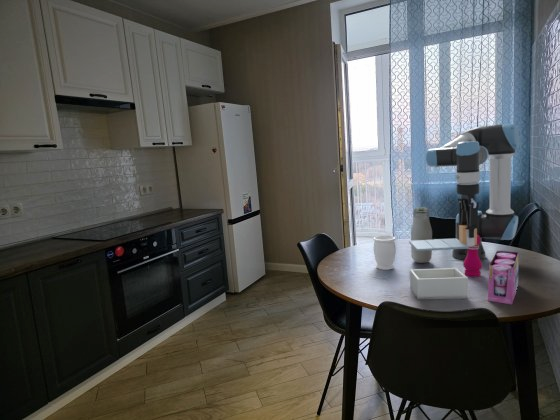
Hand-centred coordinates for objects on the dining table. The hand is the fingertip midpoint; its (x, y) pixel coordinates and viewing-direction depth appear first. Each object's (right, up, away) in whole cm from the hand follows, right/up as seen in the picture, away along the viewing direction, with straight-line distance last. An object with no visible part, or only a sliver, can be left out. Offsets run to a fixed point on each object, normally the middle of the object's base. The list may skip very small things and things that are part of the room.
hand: (467, 244), depth 142 cm
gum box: (+14, -19, 0) cm, 23 cm away
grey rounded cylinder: (-1, -13, +44) cm, 46 cm away
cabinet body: (-10, -20, +4) cm, 22 cm away
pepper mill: (+13, -16, +21) cm, 29 cm away
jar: (-20, -15, +40) cm, 47 cm away
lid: (-9, -1, +1) cm, 9 cm away
